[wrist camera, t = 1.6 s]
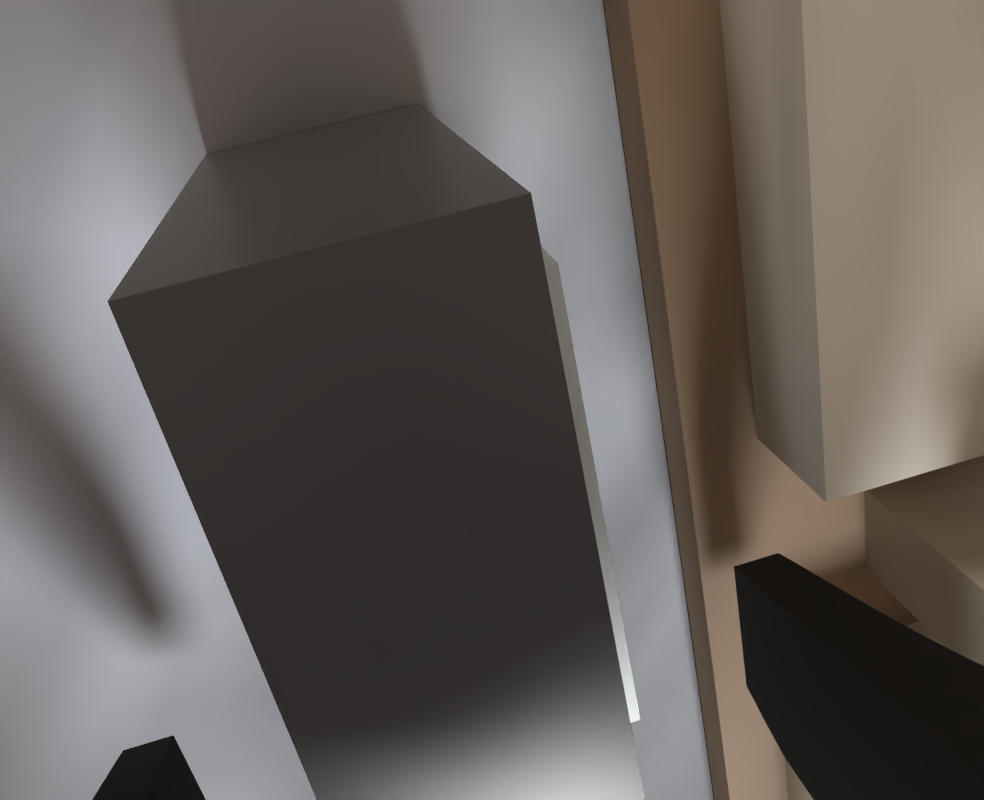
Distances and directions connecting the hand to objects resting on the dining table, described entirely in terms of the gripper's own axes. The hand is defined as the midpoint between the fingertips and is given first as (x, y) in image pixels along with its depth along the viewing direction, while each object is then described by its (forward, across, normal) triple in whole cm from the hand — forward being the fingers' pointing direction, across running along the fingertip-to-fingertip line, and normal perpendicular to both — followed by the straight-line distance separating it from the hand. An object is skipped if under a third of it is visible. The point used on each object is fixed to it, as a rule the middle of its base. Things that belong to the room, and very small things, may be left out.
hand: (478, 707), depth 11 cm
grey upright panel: (+2, 0, 0) cm, 2 cm away
